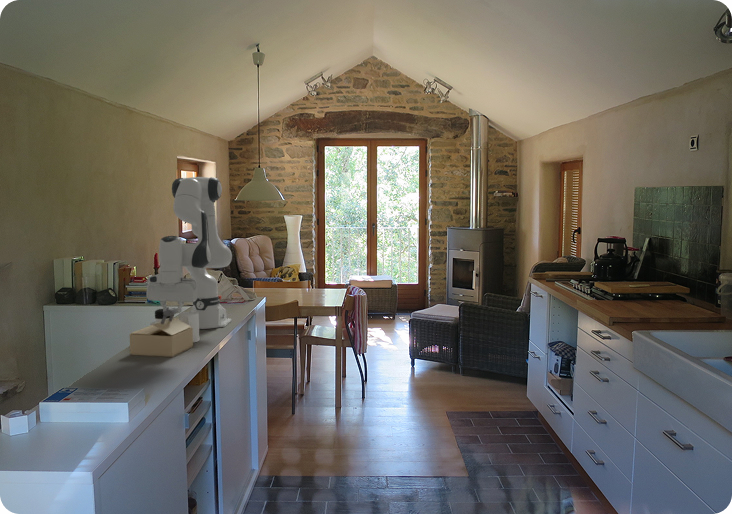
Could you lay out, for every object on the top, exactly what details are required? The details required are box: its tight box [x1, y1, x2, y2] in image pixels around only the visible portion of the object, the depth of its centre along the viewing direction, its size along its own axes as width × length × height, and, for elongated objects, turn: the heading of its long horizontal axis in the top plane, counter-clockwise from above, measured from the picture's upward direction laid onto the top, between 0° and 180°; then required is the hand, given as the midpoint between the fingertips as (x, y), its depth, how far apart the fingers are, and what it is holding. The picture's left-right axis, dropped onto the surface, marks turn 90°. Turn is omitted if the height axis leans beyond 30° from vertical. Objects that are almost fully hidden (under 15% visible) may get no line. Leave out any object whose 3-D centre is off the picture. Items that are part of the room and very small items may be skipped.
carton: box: [129, 325, 194, 358], centre depth 231 cm, size 16×18×8 cm
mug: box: [178, 310, 201, 344], centre depth 245 cm, size 12×8×12 cm
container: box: [149, 308, 170, 326], centre depth 250 cm, size 8×8×13 cm
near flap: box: [153, 307, 191, 336], centre depth 229 cm, size 15×9×6 cm, turn 169°
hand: (172, 312), depth 229 cm, fingers open, 4 cm apart
